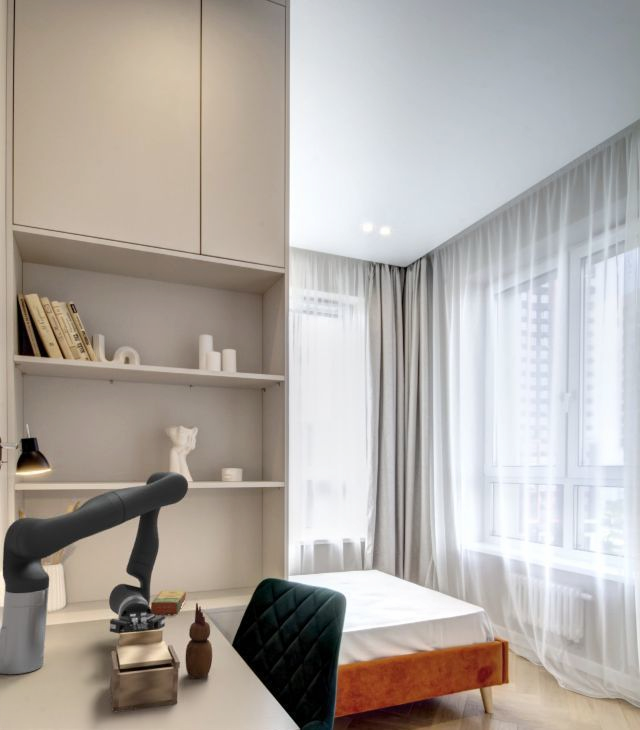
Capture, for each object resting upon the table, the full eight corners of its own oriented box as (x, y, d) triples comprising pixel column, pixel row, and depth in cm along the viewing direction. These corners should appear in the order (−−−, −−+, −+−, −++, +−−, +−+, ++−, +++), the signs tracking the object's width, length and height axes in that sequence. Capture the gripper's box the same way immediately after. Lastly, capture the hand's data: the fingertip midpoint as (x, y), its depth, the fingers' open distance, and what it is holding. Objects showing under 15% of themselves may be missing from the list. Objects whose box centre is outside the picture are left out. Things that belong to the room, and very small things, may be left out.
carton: (185, 603, 198) (186, 590, 199) (177, 616, 182) (178, 601, 183) (160, 603, 198) (161, 590, 198) (149, 616, 182) (150, 601, 182)
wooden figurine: (183, 671, 134) (186, 602, 136) (209, 669, 135) (211, 600, 138) (186, 682, 127) (189, 609, 130) (213, 679, 129) (215, 607, 131)
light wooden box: (111, 712, 112) (114, 669, 113) (108, 687, 124) (111, 649, 125) (178, 702, 117) (179, 661, 118) (169, 680, 129) (171, 642, 130)
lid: (119, 669, 116) (120, 651, 116) (116, 649, 128) (117, 633, 128) (171, 662, 119) (172, 646, 120) (163, 644, 131) (164, 629, 132)
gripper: (107, 600, 144) (110, 618, 128) (163, 596, 149) (172, 612, 133) (105, 633, 143) (108, 655, 127) (161, 627, 148) (171, 648, 132)
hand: (141, 633), depth 130 cm, fingers closed
